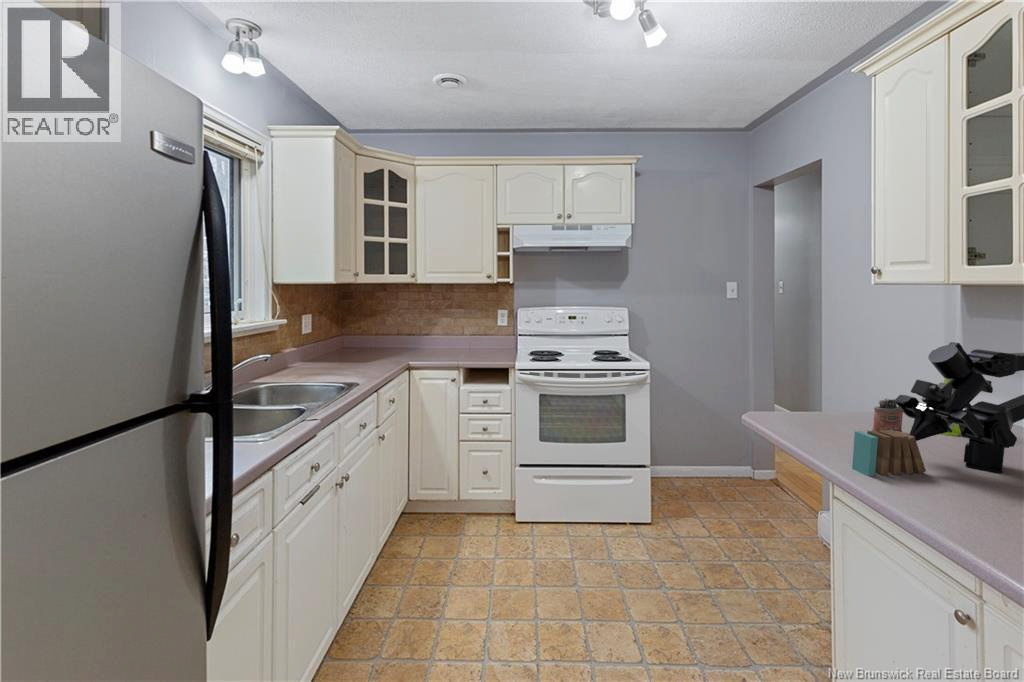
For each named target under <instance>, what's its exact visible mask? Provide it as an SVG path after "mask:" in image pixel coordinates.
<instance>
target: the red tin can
mask: <svg viewBox="0 0 1024 682" xmlns="http://www.w3.org/2000/svg"><path fill="white" fill-rule="evenodd" d="M895 399H896V398H892V399H891V398H886V397H885V398H884V399H879V400H878V405H879V406H874V407H873V410H874V416H873V428H872V430H871V431H876V432H878V431H880V430H885V431H887V430H892V431H900V432H902V433H903V430H902V426H903V414H904V412H903V411H902V410H901V409H900V408H899V407H898V405H897V404H896V403H895V402H894V400H895Z"/></svg>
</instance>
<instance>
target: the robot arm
mask: <svg viewBox="0 0 1024 682" xmlns="http://www.w3.org/2000/svg"><path fill="white" fill-rule="evenodd" d="M927 358H928V360H929V361H930V363H931V364H932V366H934V368H935V369H936V370H937V372H938V373H939V374H940V375H941V376H942V377H943V379H944V378H946V379H951V380H950V381H949V382H948V383H944V382H940V383H938V384H937V383H933V382H930V381H926V380H922V379H916V381H915V382H914V384H913V386H912V387H911V390H910V392H911V393H912V394H916V395H918V396H920V397H922V398H921V401H922V402H923V403H921V402H920V400H919V399H918V398H916V397H914V396H910V395H907V394H899V395H898V396H897V397H896V398H894V399H895V400H894V402H895V403H896V405H897V407H899V408H900V409H901V410H902V411H903V414H904V415H905V416H906V417H908V418H910V419H914V421H913V424H912V426H911V429H910V432H909V433H908V435H911V436H914V437H915V439H916V442H918V441H921V440H924V439H927V438H931V437H933V436H938V435H943V434H942V433H946V432H949V433H951V432H952V430H951V428H952V427H953V426H954V425H957V424H959V427H960V435H961V437H963V438H966V439H968V442H967V443H965V446H964V455H963V462H964V463H965V467H967V468H972V469H977V470H982V471H983V470H984V471H988V472H993V473H1001V474H1002V473H1003V471H1004V456H1005V448H1006V449H1010V448H1012V447H1015V445H1016V442H1017V441H1018V438H1017V436H1016V435H1015V434H1014V433H1013V432H1012V427H1013V426H1014V424H1015V423H1017V422H1019V421H1022V420H1024V394H1022V395H1019V396H1016V397H1014V398H1011V399H1009V400H1007V401H1004V402H1001V403H999V404H996V403H995V404H994V403H991V402H989V401H988V402H987V401H978V402H976V403H974V404H973V405H971V402H972V401H973V400H974V399H975V398H976V397H977V396H978V395H979V394H980V393H981V392H984V393H987V394H988V393H989V394H992V393H993V392H994V388H993V386H992V385H993V384H992V381H991V380H987V379H986V378H985V377H984V376H987V377H994V378H1000V379H1001V378H1004V377H1008V376H1013V375H1014V374H1015V373H1017V372H1020V371H1022V372H1023V371H1024V352H1012V353H1008V352H1001V351H994V350H985V349H979V348H977V349H973V350H971V351H970V353H967V352H966V351H965V350H964V348H963V346H962V344H960V342H954V341H950V342H949V343H948V344H947V345H942V346H939V347H937V348H936V349H933V350H931V352H930V353H929V354H928V357H927ZM924 403H925V404H924Z"/></svg>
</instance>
